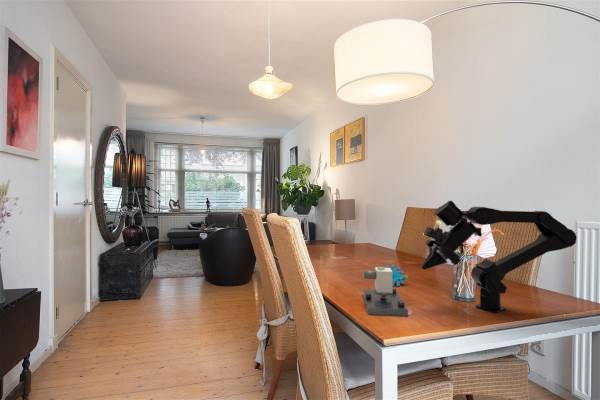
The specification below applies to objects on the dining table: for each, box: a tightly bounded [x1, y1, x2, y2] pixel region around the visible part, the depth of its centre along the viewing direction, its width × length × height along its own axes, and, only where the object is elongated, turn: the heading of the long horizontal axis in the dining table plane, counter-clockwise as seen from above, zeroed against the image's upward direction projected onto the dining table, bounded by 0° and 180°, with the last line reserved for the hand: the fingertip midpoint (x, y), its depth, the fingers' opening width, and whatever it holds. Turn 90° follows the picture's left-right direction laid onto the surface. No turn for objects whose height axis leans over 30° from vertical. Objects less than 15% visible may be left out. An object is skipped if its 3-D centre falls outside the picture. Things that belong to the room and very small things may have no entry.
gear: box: [385, 264, 409, 288], centre depth 133 cm, size 11×6×10 cm
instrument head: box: [363, 266, 393, 296], centre depth 107 cm, size 10×6×9 cm, turn 83°
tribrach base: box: [362, 288, 409, 317], centre depth 106 cm, size 12×20×3 cm, turn 173°
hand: (422, 268), depth 105 cm, fingers closed
